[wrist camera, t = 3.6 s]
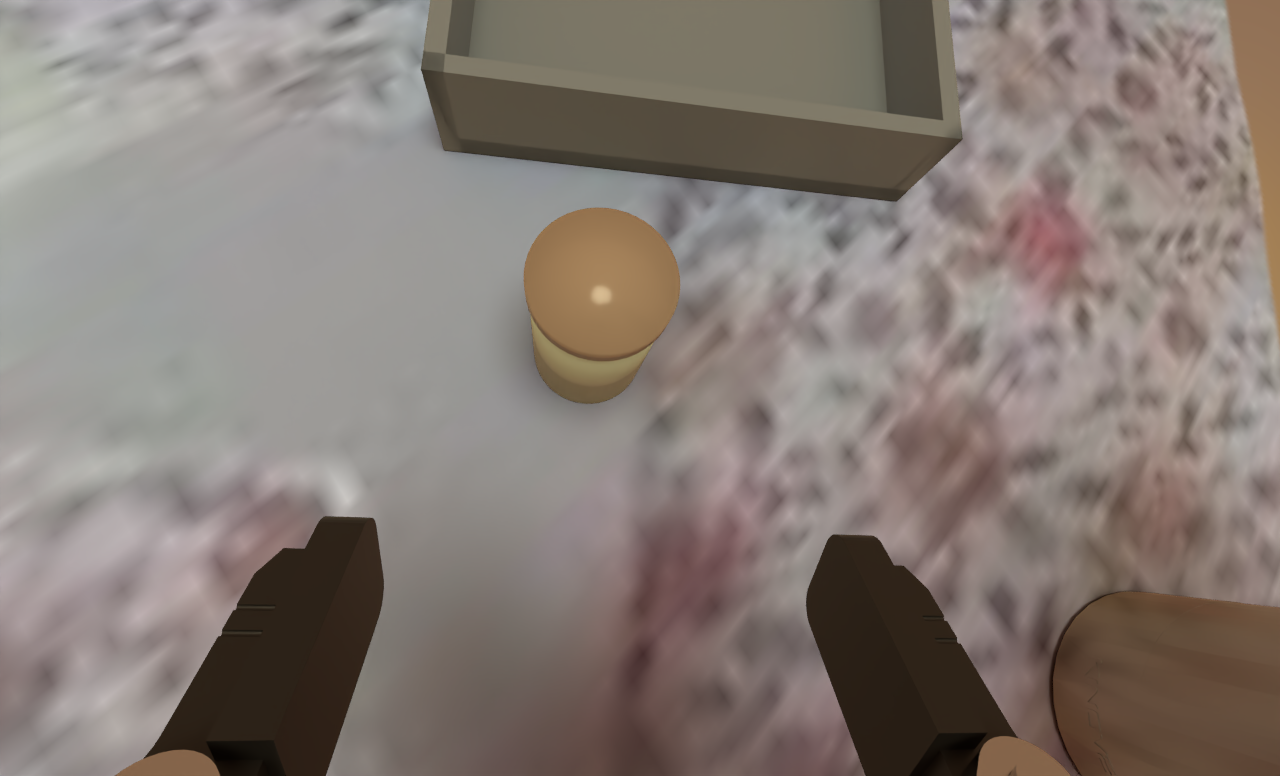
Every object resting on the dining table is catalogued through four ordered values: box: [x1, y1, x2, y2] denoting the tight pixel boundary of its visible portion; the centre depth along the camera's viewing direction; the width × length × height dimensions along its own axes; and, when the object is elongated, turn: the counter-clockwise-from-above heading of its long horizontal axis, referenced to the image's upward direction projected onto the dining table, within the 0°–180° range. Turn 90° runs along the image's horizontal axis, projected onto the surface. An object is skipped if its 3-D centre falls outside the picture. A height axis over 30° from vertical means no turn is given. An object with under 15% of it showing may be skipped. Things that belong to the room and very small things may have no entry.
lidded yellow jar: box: [524, 208, 680, 404], centre depth 22 cm, size 5×5×8 cm
